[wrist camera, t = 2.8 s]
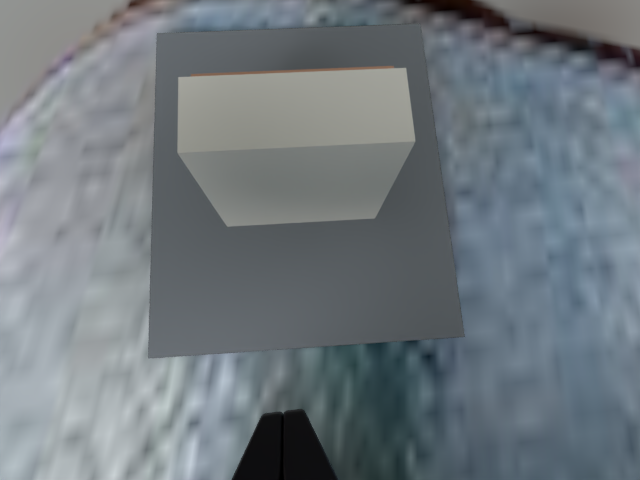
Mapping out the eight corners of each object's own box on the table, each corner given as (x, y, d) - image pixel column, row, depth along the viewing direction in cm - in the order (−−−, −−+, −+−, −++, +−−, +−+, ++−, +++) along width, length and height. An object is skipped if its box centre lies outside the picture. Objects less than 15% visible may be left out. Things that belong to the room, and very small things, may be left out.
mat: (457, 337, 20) (464, 336, 19) (156, 357, 20) (148, 358, 19) (415, 36, 24) (420, 23, 23) (163, 46, 24) (156, 33, 23)
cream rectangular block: (374, 218, 21) (415, 141, 13) (227, 226, 20) (177, 152, 13) (369, 163, 21) (405, 59, 14) (226, 171, 21) (178, 68, 13)
